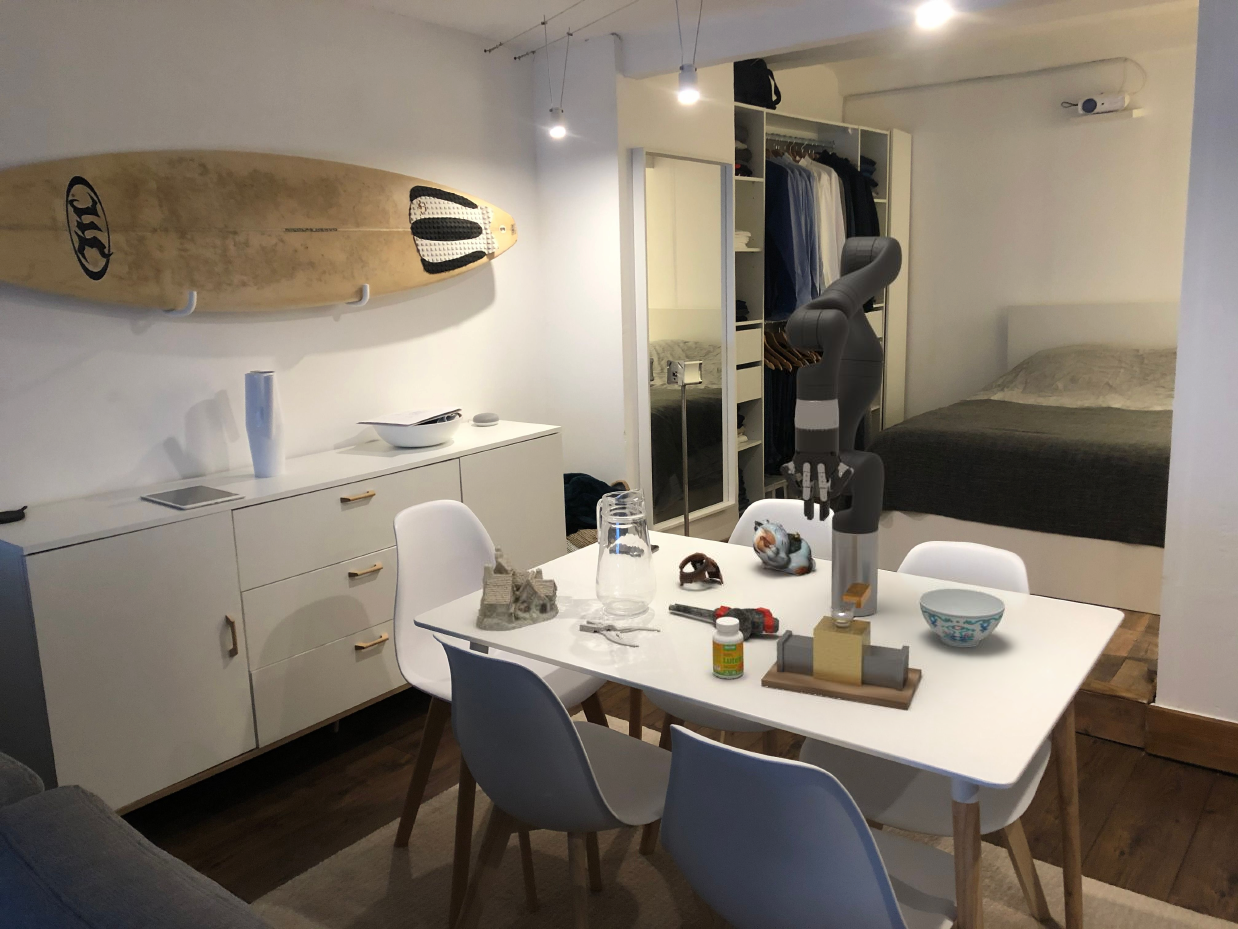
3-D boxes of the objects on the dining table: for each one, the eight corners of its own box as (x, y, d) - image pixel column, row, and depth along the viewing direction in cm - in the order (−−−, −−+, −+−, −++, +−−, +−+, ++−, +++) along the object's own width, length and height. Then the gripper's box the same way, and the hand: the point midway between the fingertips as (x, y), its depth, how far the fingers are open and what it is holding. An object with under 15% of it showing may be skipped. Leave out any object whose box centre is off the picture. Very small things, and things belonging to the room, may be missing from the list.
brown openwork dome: (730, 590, 211) (715, 563, 208) (693, 609, 212) (677, 583, 208) (718, 562, 222) (703, 536, 218) (682, 580, 223) (667, 555, 219)
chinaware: (941, 620, 187) (942, 583, 185) (1017, 639, 176) (1019, 599, 175) (903, 642, 177) (904, 603, 175) (981, 663, 166) (982, 621, 165)
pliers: (636, 641, 178) (570, 629, 186) (636, 649, 179) (570, 637, 186) (660, 625, 187) (596, 614, 194) (661, 632, 187) (596, 621, 194)
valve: (804, 635, 188) (762, 647, 176) (699, 614, 205) (655, 624, 194) (805, 603, 187) (763, 614, 176) (700, 585, 205) (656, 594, 193)
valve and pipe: (787, 660, 168) (787, 606, 166) (908, 678, 159) (910, 621, 157) (776, 675, 162) (775, 619, 160) (901, 695, 153) (902, 636, 151)
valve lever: (850, 625, 156) (850, 614, 156) (829, 623, 158) (829, 611, 158) (871, 594, 171) (872, 584, 171) (851, 592, 173) (852, 582, 172)
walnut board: (785, 656, 172) (785, 649, 172) (921, 676, 162) (921, 669, 161) (761, 686, 160) (761, 679, 160) (907, 709, 149) (907, 702, 149)
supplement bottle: (722, 682, 162) (721, 628, 160) (707, 670, 167) (706, 618, 165) (749, 675, 164) (749, 623, 162) (733, 665, 169) (733, 613, 167)
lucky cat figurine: (819, 576, 217) (796, 529, 211) (770, 594, 220) (746, 549, 214) (811, 541, 230) (789, 496, 225) (765, 559, 233) (742, 515, 228)
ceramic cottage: (465, 628, 192) (466, 557, 189) (498, 604, 207) (499, 538, 205) (537, 639, 187) (539, 566, 185) (565, 614, 203) (567, 546, 200)
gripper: (860, 422, 166) (859, 517, 170) (785, 419, 173) (785, 512, 176) (851, 428, 160) (850, 527, 163) (772, 426, 166) (773, 521, 169)
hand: (816, 519), depth 169 cm, fingers closed
